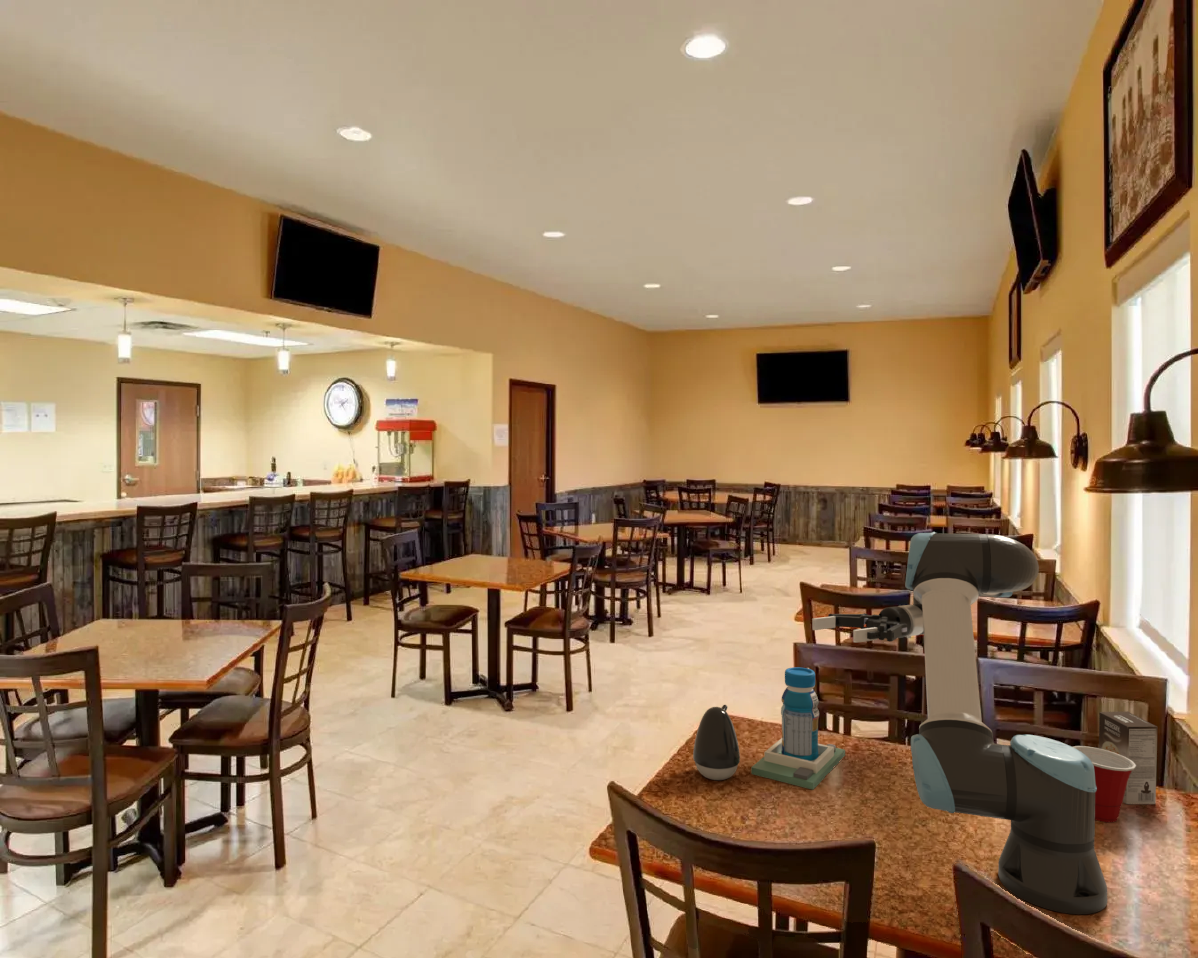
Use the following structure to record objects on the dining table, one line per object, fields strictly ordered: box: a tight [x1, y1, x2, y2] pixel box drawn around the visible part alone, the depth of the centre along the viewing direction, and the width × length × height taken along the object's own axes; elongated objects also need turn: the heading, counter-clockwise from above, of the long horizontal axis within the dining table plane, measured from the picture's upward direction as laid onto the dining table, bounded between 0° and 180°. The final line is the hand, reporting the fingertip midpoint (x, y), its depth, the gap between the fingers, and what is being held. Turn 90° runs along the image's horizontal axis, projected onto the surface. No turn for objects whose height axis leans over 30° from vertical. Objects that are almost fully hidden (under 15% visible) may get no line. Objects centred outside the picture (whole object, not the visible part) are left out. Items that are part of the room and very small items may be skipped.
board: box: [750, 737, 846, 791], centre depth 170 cm, size 22×14×4 cm, turn 145°
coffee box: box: [1098, 711, 1158, 805], centre depth 154 cm, size 9×6×16 cm
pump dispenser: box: [692, 704, 741, 781], centre depth 164 cm, size 10×10×15 cm
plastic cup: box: [1072, 745, 1136, 823], centre depth 145 cm, size 11×11×12 cm
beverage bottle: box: [780, 666, 820, 762], centre depth 170 cm, size 8×8×20 cm
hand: (833, 630), depth 173 cm, fingers open, 13 cm apart
